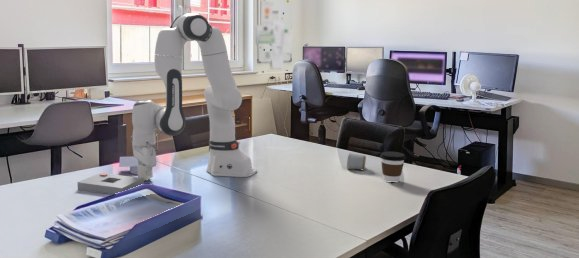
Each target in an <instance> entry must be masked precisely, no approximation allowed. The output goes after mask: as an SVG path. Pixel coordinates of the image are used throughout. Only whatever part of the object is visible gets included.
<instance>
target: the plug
mask: <svg viewBox="0 0 579 258" xmlns="http://www.w3.org/2000/svg"><path fill="white" fill-rule="evenodd" d="M146 169H147V168H146V165H144V164H143V163H142V164H140V165H138V174H137V177H138V178H143V183H145V182H146V180H147V181H151V178H153V177H154V176H153V174H154V173H153V170H152V171H151V176H147V175H146Z"/></svg>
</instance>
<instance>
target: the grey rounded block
mask: <svg viewBox="0 0 579 258" xmlns="http://www.w3.org/2000/svg"><path fill="white" fill-rule="evenodd" d="M366 161H367V157H366V155H365V154H361V153H360V154H359V153H354V152H348V154H347V161H346V169H347V170H354V169H364V170H365V168H366Z"/></svg>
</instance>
